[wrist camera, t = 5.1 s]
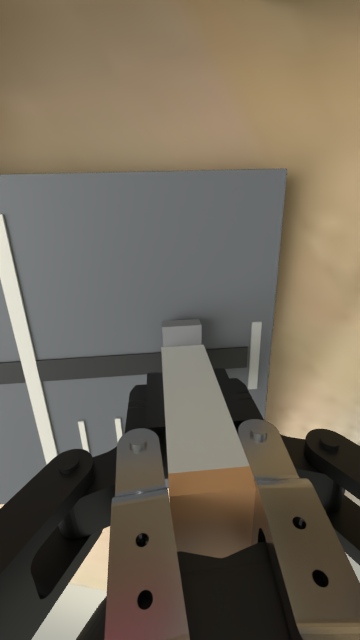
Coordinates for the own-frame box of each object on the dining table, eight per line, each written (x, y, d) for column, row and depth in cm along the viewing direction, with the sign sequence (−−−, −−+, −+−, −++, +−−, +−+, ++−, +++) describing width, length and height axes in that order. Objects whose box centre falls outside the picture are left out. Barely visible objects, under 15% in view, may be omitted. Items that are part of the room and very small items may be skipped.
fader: (200, 318, 14) (260, 453, 6) (201, 404, 16) (248, 594, 8) (159, 321, 14) (167, 461, 6) (164, 407, 16) (175, 603, 8)
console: (273, 172, 14) (288, 168, 12) (251, 460, 20) (259, 480, 19) (-103, 181, 13) (-138, 177, 11) (-2, 484, 19) (-16, 507, 18)
